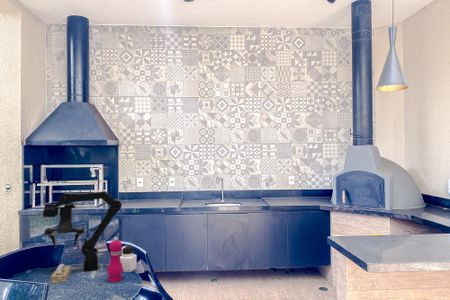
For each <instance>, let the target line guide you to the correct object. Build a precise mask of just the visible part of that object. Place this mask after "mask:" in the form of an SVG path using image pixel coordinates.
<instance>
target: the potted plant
mask: <svg viewBox="0 0 450 300" xmlns="http://www.w3.org/2000/svg"><path fill="white" fill-rule="evenodd" d="M134 249H135V248H134V246H132V245H124V246H122V248H121V255H120V261H121V264H122V266H123V272H124V273H131V272H133V271H134V270H136V269H137V257H138V256H137V254H134V251H135V250H134ZM123 272H122V273H123Z"/></svg>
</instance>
